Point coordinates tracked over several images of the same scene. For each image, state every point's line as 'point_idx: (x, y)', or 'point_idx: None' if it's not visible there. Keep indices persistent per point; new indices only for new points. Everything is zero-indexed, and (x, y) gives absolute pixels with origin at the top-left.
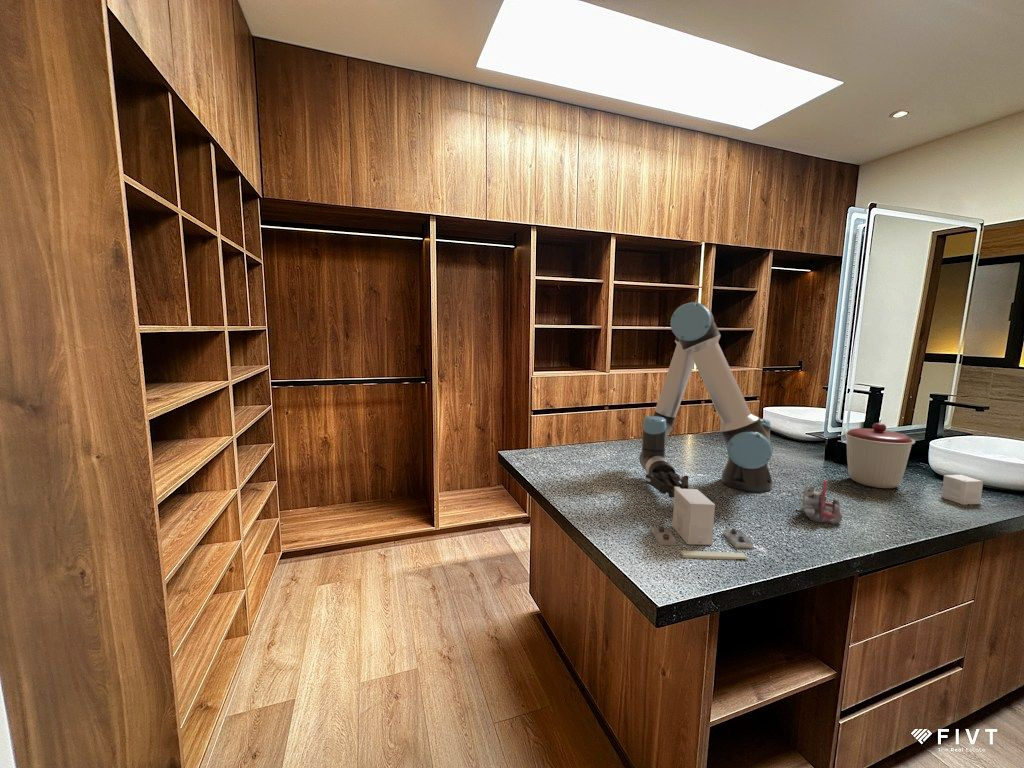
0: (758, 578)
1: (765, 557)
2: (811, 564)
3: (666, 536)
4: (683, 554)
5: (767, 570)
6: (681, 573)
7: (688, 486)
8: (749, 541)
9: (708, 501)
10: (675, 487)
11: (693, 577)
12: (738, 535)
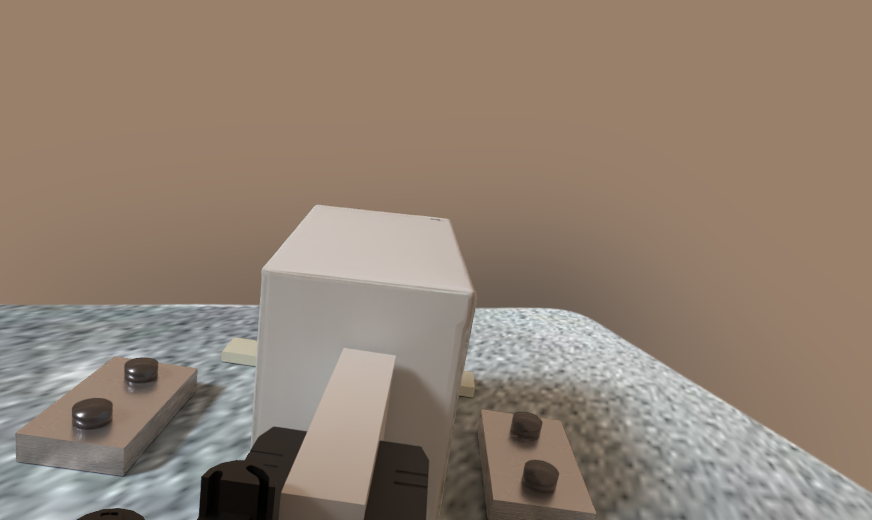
0: None
1: (137, 345)
2: (8, 308)
3: (527, 413)
4: (472, 373)
5: (216, 317)
6: (502, 345)
7: (90, 515)
8: (114, 365)
9: (331, 211)
10: (361, 475)
11: (473, 333)
12: (107, 399)
